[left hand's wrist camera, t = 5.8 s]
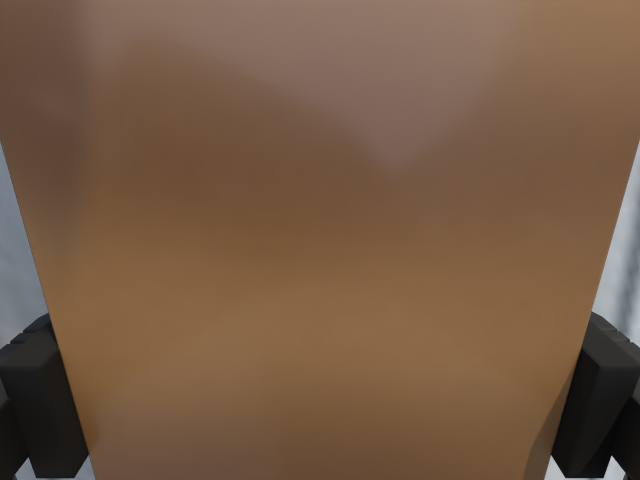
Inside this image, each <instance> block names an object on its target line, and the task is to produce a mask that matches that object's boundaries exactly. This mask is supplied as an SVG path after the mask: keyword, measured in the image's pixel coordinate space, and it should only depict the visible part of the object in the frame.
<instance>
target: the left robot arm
mask: <svg viewBox="0 0 640 480" xmlns="http://www.w3.org/2000/svg"><path fill="white" fill-rule="evenodd" d="M88 455H89V454H88V450H87V446H86V443H85V439H84V436H83V432H82V429H81V425H80V422H79V418H78V414H77V411H76V407H75V404H74V400H73V397H72V393H71V390H70V386H69V383H68V379H67V375H66V372H65V368H64V365H63V361H62V358H61V354H60V351H59V347H58V343H57V340H56V336H55V333H54V329H53V326H52V322H51V319H50V315H49V313H47V314H45V315H43V316H41V317H39V318H38V319H37V320H35V321H34V322H33V323H32V324H31V325H29V326H28V327H27V328H26V329H25V330H23V333H20V334H19V335H17V336H16V337H15V338H14V339H13V340H11V341H10V344H7V345H5V346H4V347H3V348H2V349H1V350H0V480H17V478H16V476H15V473H16V472H17V471H18V470H19V468H20V467H21V466H22V465H23V463H24V462H25V461H26V459H27V458H28V457H29V459H30V462H31V465H32V468H33V470H34V473H35V476H36V478H75V476H76V474H77V473H78V471H79V469H80V468H81V466H82V465H83V463H84V461H85V460H86V458H87V457H88ZM551 455H552V457H553V459H554V460H555V462H556V463H557V465H558V467H559V468H560V470H561V471H562V473H563V475H564V476H565V478H604V475H605V472H606V469H607V467H608V464H609V461H610V458H611V455H612V456H613V457H614V459H615V460H616V461H617V463H618V464H619V465H620V466H621V468H622V469H623V470H624V471H625V476H624V478H623V480H640V348H639V347H638V346H637V345H636V344H634V343H633V342H630V339H628V338H627V337H626V336H625V335H624V334H622V333H621V332H617V329H616V328H615V327H614V326H613V325H611V324H610V323H609V322H608V321H607V320H605V319H604V318H603V317H602V316H600V315H598V314H596V313H594V312H592V311H591V315H590V318H589V322H588V325H587V329H586V332H585V336H584V339H583V343H582V347H581V350H580V354H579V357H578V361H577V364H576V368H575V371H574V375H573V378H572V382H571V386H570V389H569V393H568V396H567V400H566V403H565V407H564V410H563V414H562V418H561V421H560V425H559V428H558V432H557V435H556V439H555V442H554V446H553V450H552V453H551Z"/></svg>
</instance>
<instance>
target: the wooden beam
mask: <svg viewBox="0 0 640 480" xmlns="http://www.w3.org/2000/svg"><path fill="white" fill-rule="evenodd" d="M639 140H640V0H0V141H1V145H2V148H3V152H4V155H5V159H6V162H7V166H8V170H9V173H10V177H11V180H12V184H13V187H14V191H15V194H16V198H17V201H18V205H19V209H20V212H21V216H22V219H23V223H24V226H25V230H26V233H27V237H28V241H29V244H30V248H31V251H32V255H33V258H34V262H35V265H36V269H37V272H38V276H39V280H40V283H41V287H42V290H43V294H44V297H45V301H46V304H47V308H48V312H49V315H50V319H51V322H52V326H53V329H54V333H55V336H56V340H57V343H58V347H59V351H60V354H61V358H62V361H63V365H64V368H65V372H66V375H67V379H68V383H69V386H70V390H71V393H72V397H73V400H74V404H75V407H76V411H77V414H78V418H79V422H80V425H81V429H82V432H83V436H84V439H85V443H86V446H87V450H88V454H89V457H90V461H91V464H92V468H93V471H94V475H95V478H96V480H544V478H545V474H546V471H547V467H548V464H549V460H550V457H551V453H552V450H553V446H554V442H555V439H556V435H557V432H558V428H559V425H560V421H561V418H562V414H563V410H564V407H565V403H566V400H567V396H568V393H569V389H570V386H571V382H572V378H573V375H574V371H575V368H576V364H577V361H578V357H579V354H580V350H581V347H582V343H583V339H584V336H585V332H586V329H587V325H588V322H589V318H590V315H591V311H592V307H593V304H594V300H595V297H596V293H597V290H598V286H599V283H600V279H601V275H602V272H603V268H604V265H605V261H606V258H607V254H608V251H609V247H610V244H611V240H612V236H613V233H614V229H615V226H616V222H617V219H618V215H619V212H620V208H621V204H622V201H623V197H624V194H625V190H626V187H627V183H628V180H629V176H630V172H631V169H632V165H633V162H634V158H635V155H636V151H637V148H638V144H639Z"/></svg>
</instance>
